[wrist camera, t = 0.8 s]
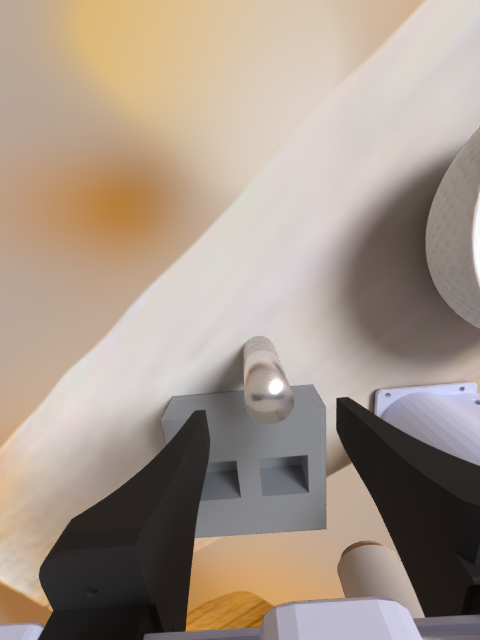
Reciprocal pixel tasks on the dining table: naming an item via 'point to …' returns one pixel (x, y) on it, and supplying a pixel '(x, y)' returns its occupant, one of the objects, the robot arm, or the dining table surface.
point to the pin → (265, 383)
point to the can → (376, 575)
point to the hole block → (258, 464)
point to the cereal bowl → (457, 234)
